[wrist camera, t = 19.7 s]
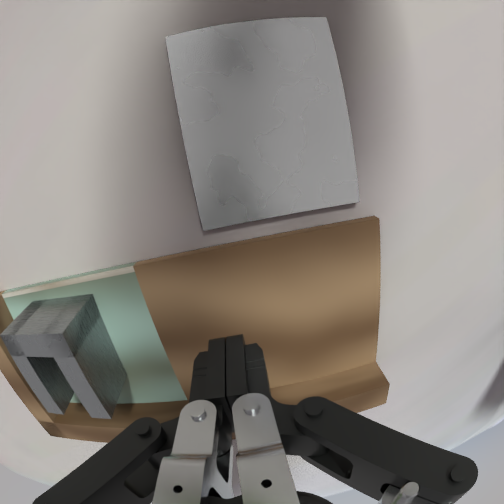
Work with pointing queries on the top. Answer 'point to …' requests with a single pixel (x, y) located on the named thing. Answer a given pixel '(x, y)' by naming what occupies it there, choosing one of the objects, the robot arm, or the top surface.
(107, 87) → the top surface
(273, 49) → the grey concrete tile
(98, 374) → the clip
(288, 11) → the top surface
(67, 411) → the wooden tray
